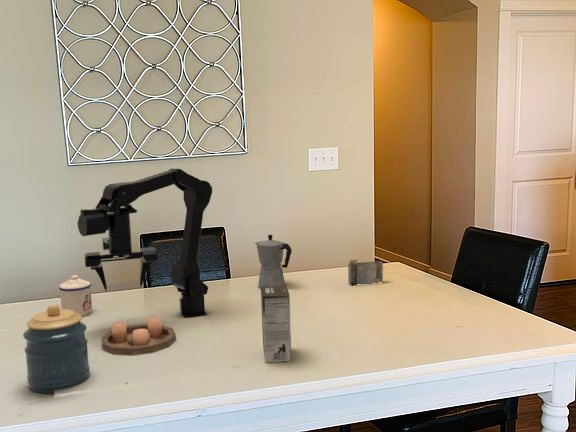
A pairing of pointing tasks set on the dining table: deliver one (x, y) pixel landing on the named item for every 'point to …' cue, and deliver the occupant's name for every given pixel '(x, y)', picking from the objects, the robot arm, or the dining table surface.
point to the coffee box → (276, 323)
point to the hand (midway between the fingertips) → (123, 287)
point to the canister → (56, 350)
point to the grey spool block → (365, 272)
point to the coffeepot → (272, 261)
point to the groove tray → (130, 349)
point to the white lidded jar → (76, 295)
